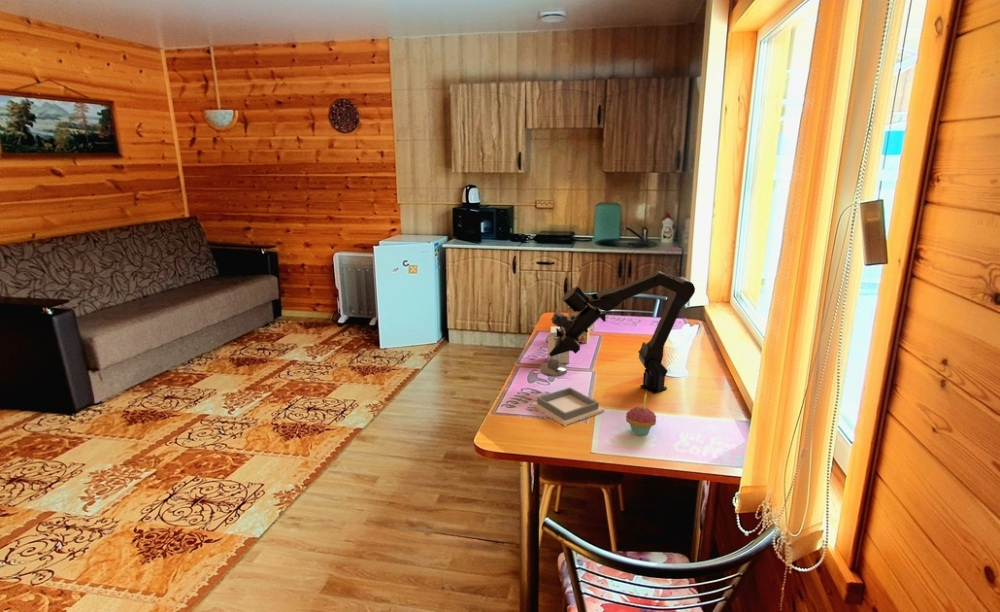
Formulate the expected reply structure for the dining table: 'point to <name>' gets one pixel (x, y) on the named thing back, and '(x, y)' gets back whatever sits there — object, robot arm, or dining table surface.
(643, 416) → the cupcake
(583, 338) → the candy box
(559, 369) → the flared base peg
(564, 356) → the supplement box
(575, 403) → the board
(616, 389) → the dining table surface
